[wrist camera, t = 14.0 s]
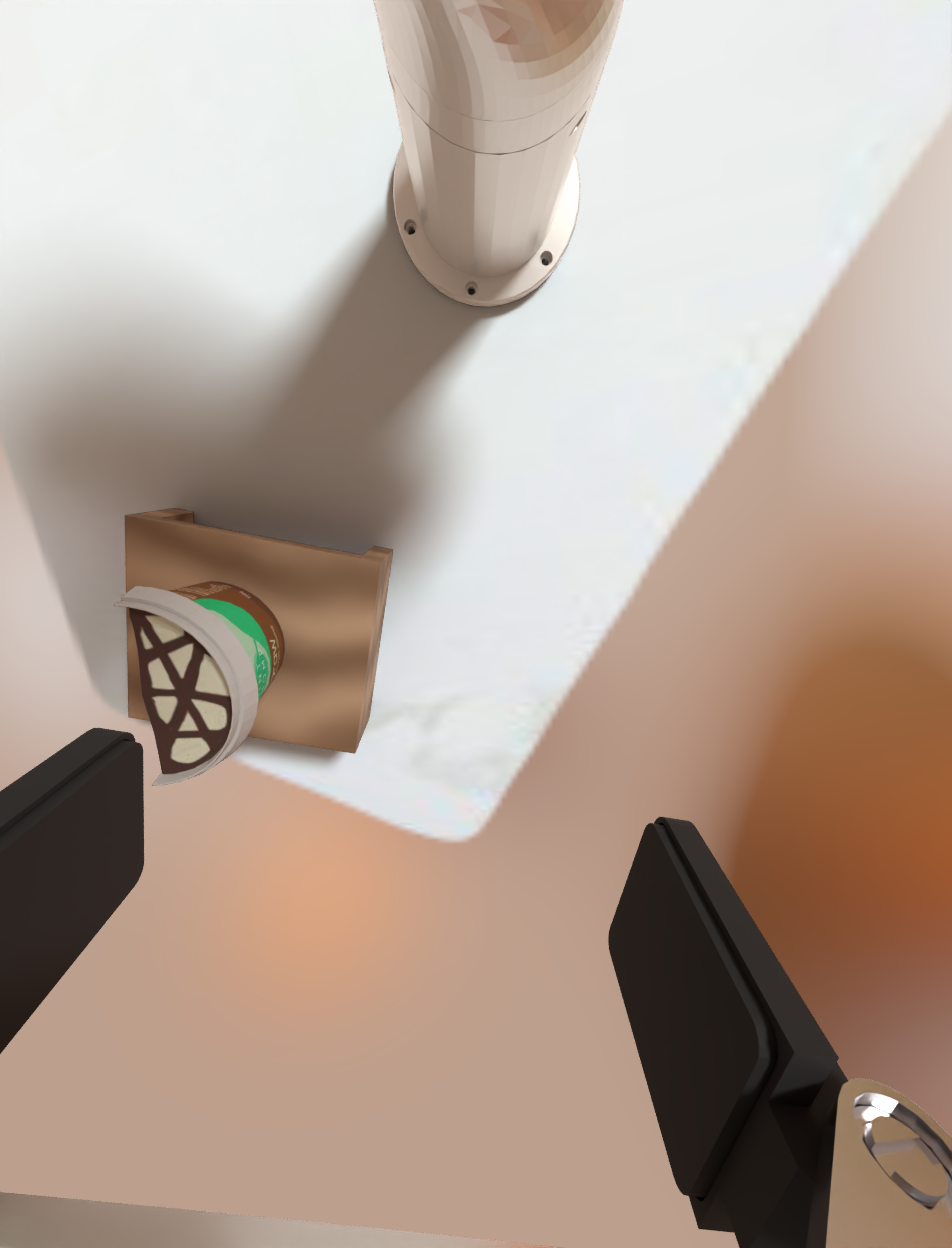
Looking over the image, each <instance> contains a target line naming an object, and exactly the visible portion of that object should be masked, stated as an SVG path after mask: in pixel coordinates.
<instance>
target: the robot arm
mask: <svg viewBox="0 0 952 1248" xmlns="http://www.w3.org/2000/svg"><path fill="white" fill-rule="evenodd" d="M373 1H374V5H375V10H376V15H377V19H378V24H379V28H380V33H381V38H382V43H383V49H384V54H385V59H386V63H387V68H388V73H389V77H390V82H391V87H392V91H393V96H394V101H395V106H396V110H397V115H398V120H399V125H400V129H401V134H402V139H403V141H402V144H401V146H400V149H399V151H398V155H397V160H396V165H395V170H394V181H393V200H394V208H395V217H396V221H397V224H398V228H399V232H400V235H401V238H402V240H403V243H404V245H405V248H406V251H407V253H408V254H409V256H410V258H411V259H412V261H413V263H414V265H415V266H416V268H417V269H418V270H419V271H420V273H421V274H422V275H423V276H424V277H425V279H426V280H427V281H428V282H429V283H430V284H432V285H433V286H434V287H435V288H436V289H438V290H439V291H440V292H441V293H443V294H445V295H447V296H449V297H451V298H452V299H454V300H456V301H459V302H462V303H466V304H470V305H473V306H489V307H490V306H496V305H503V304H507V303H510V302H512V301H515V300H518V299H520V298H522V297H524V296H526V295H527V294H529V293H530V292H532V291H533V290H535V289H536V288H537V287H538V286H540V285H541V284H542V283H543V282H544V281H545V280H546V279H547V278H548V277H549V276H550V275H551V273H552V272H553V270H554V269H555V268H556V266H557V265H558V263H559V262H560V261H561V259H562V257H563V255H564V253H565V251H566V249H567V247H568V244H569V242H570V239H571V237H572V234H573V231H574V228H575V225H576V220H577V215H578V210H579V201H580V178H579V169H578V162H577V159H576V155H575V153H576V150H577V147H578V144H579V141H580V138H581V135H582V132H583V129H584V126H585V123H586V120H587V117H588V114H589V111H590V108H591V105H592V102H593V99H594V96H595V93H596V90H597V87H598V84H599V81H600V78H601V75H602V72H603V69H604V66H605V63H606V60H607V58H608V55H609V52H610V49H611V45H612V42H613V39H614V36H615V33H616V30H617V26H618V22H619V18H620V14H621V10H622V5H623V0H373ZM410 229H414V230H415V233H414V234H412V235H409V234H408V232H409V230H410ZM543 259H546V260H547V261H548V265H547V266H545V265H543V264H542V260H543ZM469 289H474V290H475V294H473V295H470V294H469V293H468V290H469ZM143 803H144V802H143V748H142V746H141V744H140V743H137V742H135V738H134V736H133V735H132V734H131V733H128V732H121V731H115V730H109V729H103V728H93V729H91V730H89V731H87V732H86V733H84V734H83V735H81V736H80V737H78V738H77V739H76V740H74V741H73V742H71V743H70V744H68V745H67V746H65V747H64V748H62V749H61V750H60V751H58V752H57V753H55V754H54V755H52V756H51V757H49V758H48V759H47V760H45V761H44V762H42V763H41V764H39V765H38V766H36V767H35V768H34V769H32V770H31V771H29V772H28V773H26V774H25V775H23V776H22V777H20V778H19V779H18V780H16V781H15V782H13V783H12V784H10V785H9V786H8V787H6V788H5V789H3V790H2V791H0V1054H1V1052H2V1051H3V1050H4V1049H5V1047H6V1046H7V1045H8V1044H9V1042H10V1041H11V1040H12V1039H13V1037H14V1036H15V1035H16V1034H17V1032H18V1031H19V1030H20V1029H21V1027H22V1026H23V1024H25V1022H26V1021H27V1020H28V1019H29V1017H30V1016H31V1015H32V1014H33V1012H34V1011H35V1010H36V1009H37V1007H38V1006H39V1005H40V1004H41V1002H42V1001H43V1000H44V999H45V997H46V996H47V995H48V994H49V992H50V991H51V990H52V989H53V987H54V986H55V985H56V984H57V982H58V981H59V980H60V979H61V977H62V976H63V975H64V974H65V972H66V971H67V970H68V969H69V967H70V966H71V965H72V964H73V962H74V961H75V960H76V959H77V957H78V956H79V955H80V954H81V952H82V951H83V950H84V949H85V947H86V946H87V945H88V944H89V942H90V941H91V940H92V939H93V937H94V936H95V935H96V934H97V933H98V931H99V930H100V929H101V928H102V926H103V925H104V924H105V923H106V921H107V920H108V919H109V918H110V916H111V915H112V914H113V913H114V911H115V910H116V909H117V908H118V906H119V905H120V904H121V903H122V901H123V900H124V899H125V898H126V896H127V895H128V894H129V893H130V891H131V890H132V889H133V888H134V886H135V885H136V883H137V882H138V880H139V877H140V875H141V873H142V870H143V866H144V809H143V808H144V807H143V806H144V804H143ZM609 950H610V955H611V958H612V962H613V965H614V969H615V972H616V976H617V979H618V983H619V986H620V990H621V993H622V997H623V1000H624V1004H625V1007H626V1011H627V1014H628V1018H629V1021H630V1025H631V1028H632V1032H633V1035H634V1039H635V1042H636V1046H637V1050H638V1053H639V1057H640V1060H641V1064H642V1067H643V1071H644V1074H645V1078H646V1081H647V1085H648V1088H649V1092H650V1095H651V1099H652V1102H653V1106H654V1109H655V1113H656V1116H657V1120H658V1123H659V1127H660V1130H661V1134H662V1137H663V1141H664V1144H665V1147H666V1151H667V1155H668V1158H669V1162H670V1165H671V1168H672V1172H673V1176H674V1178H675V1182H676V1184H677V1186H678V1188H679V1190H680V1191H681V1192H682V1194H683V1195H688V1196H689V1198H690V1202H691V1205H692V1208H693V1212H694V1215H695V1218H696V1221H697V1225H698V1228H699V1229H706V1230H715V1231H726V1232H734V1233H735V1235H736V1239H737V1241H738V1244H739V1247H740V1248H952V1137H951V1136H950V1135H948V1133H947V1132H946V1131H945V1130H944V1129H943V1128H942V1127H941V1126H940V1125H939V1124H938V1123H937V1122H936V1121H935V1120H934V1119H933V1118H932V1117H931V1116H930V1115H929V1114H927V1113H926V1112H925V1111H923V1110H922V1109H921V1108H919V1107H918V1106H917V1105H916V1104H915V1103H913V1102H912V1101H911V1100H910V1099H908V1098H907V1097H905V1096H903V1095H902V1094H900V1093H898V1092H897V1091H895V1090H893V1089H892V1088H890V1087H888V1086H886V1085H884V1084H881V1083H877V1082H875V1081H872V1080H869V1079H852V1080H850V1081H848V1080H847V1078H846V1077H845V1075H844V1073H843V1072H842V1070H841V1068H840V1067H839V1065H838V1063H837V1060H838V1059H839V1058H838V1056H837V1054H836V1053H835V1051H834V1050H833V1048H832V1046H831V1045H830V1043H829V1042H828V1040H827V1038H826V1037H825V1035H824V1033H823V1032H822V1030H821V1029H820V1027H819V1026H818V1024H817V1022H816V1021H815V1019H814V1017H813V1016H812V1014H811V1012H810V1011H809V1009H808V1008H807V1006H806V1005H805V1003H804V1001H803V1000H802V998H801V996H800V995H799V993H798V992H797V990H796V988H795V987H794V985H793V983H792V982H791V981H790V979H789V977H788V975H787V974H786V972H785V971H784V969H783V967H782V966H781V964H780V963H779V961H778V959H777V958H776V956H775V955H774V953H773V951H772V950H771V948H770V946H769V945H768V943H767V942H766V940H765V938H764V937H763V935H762V934H761V932H760V930H759V929H758V927H757V925H756V924H755V922H754V921H753V919H752V917H751V916H750V914H749V913H748V911H747V910H746V908H745V906H744V904H743V903H742V901H741V900H740V898H739V896H738V895H737V893H736V892H735V890H734V888H733V887H732V885H731V884H730V882H729V880H728V879H727V877H726V875H725V874H724V872H723V871H722V869H721V868H720V866H719V864H718V863H717V861H716V859H715V858H714V856H713V855H712V853H711V851H710V850H709V848H708V846H707V845H706V843H705V842H704V840H703V838H702V837H701V835H700V834H699V832H698V830H697V829H696V827H695V826H694V825H693V824H692V823H691V822H689V821H685V820H678V819H672V818H665V817H659V818H657V819H656V821H655V823H654V824H653V823H650V824H648V825H647V826H646V828H645V830H644V833H643V836H642V838H641V841H640V844H639V847H638V850H637V853H636V855H635V858H634V861H633V864H632V867H631V870H630V873H629V875H628V879H627V881H626V884H625V887H624V890H623V893H622V895H621V898H620V901H619V904H618V907H617V910H616V913H615V915H614V918H613V921H612V924H611V927H610V930H609ZM0 1248H561V1247H551V1246H542V1245H532V1244H523V1243H514V1242H503V1241H495V1240H484V1239H475V1238H466V1237H456V1236H446V1235H438V1234H428V1233H417V1232H408V1231H398V1230H387V1229H378V1228H368V1227H358V1226H347V1225H338V1224H328V1223H318V1222H308V1221H298V1220H288V1219H278V1218H267V1217H257V1216H247V1215H237V1214H227V1213H216V1212H206V1211H196V1210H185V1209H175V1208H165V1207H155V1206H144V1205H133V1204H122V1203H111V1202H101V1201H89V1200H77V1199H68V1198H57V1197H46V1196H36V1195H25V1194H14V1193H3V1192H0Z"/></svg>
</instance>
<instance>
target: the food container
mask: <svg viewBox="0 0 952 1248" xmlns="http://www.w3.org/2000/svg"><path fill="white" fill-rule="evenodd" d="M121 599H122V601H120V602H118V603H116V604H114V606H120V607H128V608H129V617H130V620H131V622H132V625H133V629H134V634H135V639H136V644H137V650H138V658H139V669H140V680H141V688H142V696H143V700H144V703H145V707H146V710H147V713H148V716H149V719H150V721H151V724H152V727H153V731H154V734H155V739H156V744H157V748H158V754H159V758H160V763H161V769H162V773H161V774H160V775H159V777H158V778H157V779H156V780H155V782H154V783H153V784H152V786H154V785H167V784H171V783H176V782H180V781H183V780H186V779H189V778H192V777H194V776H197V775H199V774H202V773H203V772H205V771H207V770H209V769H210V768H212V767H214V766H215V765H217V764H218V763H219V762H221V761H223V760H224V759H226V758H227V757H228V756H229V755H231V754H232V753H233V752H234V751H235V750H237V749H238V747H239V746H240V745H241V744H242V743H243V741H244V740H245V739H246V737H247V736H248V734H249V732H250V730H251V728H252V726H253V723H254V720H255V717H256V714H257V707H258V701H259V700H260V698H261V697H262V695H263V694H264V692H265V691H266V689H267V688H268V686H269V685H270V683H271V682H272V681H273V679H274V677H275V676H276V674H277V672H278V671H279V669H280V667H281V666H282V663H283V658H284V653H285V641H284V636H283V632H282V629H281V627H280V624H279V622H278V620H277V619H276V617H275V615H274V614H273V613H272V611H271V610H270V609H269V607H268V606H267V605H266V604H265V603H264V602H262V601H261V600H260V599H259V598H258V597H256V596H255V595H253V594H252V593H250V592H248V591H247V590H245V589H243V588H240V587H238V586H235V585H233V584H228V583H224V582H216V581H208V582H203V583H199V584H194V585H190V586H186V587H181V588H177V589H172V590H168V591H166V590H161V589H157V588H153V587H142V586H136V587H134V588H133V589H131V590H130V591H128V592H127V593H126V594H124V595H123V596H121Z"/></svg>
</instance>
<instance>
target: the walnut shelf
mask: <svg viewBox="0 0 952 1248" xmlns="http://www.w3.org/2000/svg"><path fill="white" fill-rule="evenodd" d="M193 513H194V512H190V511H185V510H180V509H174V508H172V509H165V510H158V511H151V512H144V513H137V514H130V515H125V550H126V593H127V592H128V591H130V590H131V589H133V588H134V587H136V586H142V587H153V588H157V589H161V590H166V591H168V590H172V589H177V588H181V587H186V586H190V585H194V584H199V583H203V582H208V581H216V582H224V583H228V584H233V585H235V586H238V587H240V588H243V589H245V590H247V591H248V592H250V593H252V594H253V595H255V596H256V597H258V598H259V599H260V600H261V601H262V602H264V603H265V604H266V605H267V606H268V607H269V609H270V610H271V611H272V613H273V614H274V615H275V617H276V619H277V620H278V622H279V624H280V627H281V629H282V632H283V636H284V641H285V653H284V658H283V663H282V666H281V667H280V669H279V671H278V672H277V674H276V676H275V677H274V679H273V681H272V682H271V683H270V685H269V686H268V688H267V689H266V691H265V692H264V694H263V695H262V697H261V698H260V700H259V701H258V707H257V714H256V717H255V720H254V723H253V726H252V728H251V730H250V732H249V734H248V736H249V737H255V738H261V739H267V740H274V741H280V742H286V743H292V744H299V745H305V746H311V747H317V748H324V749H330V750H336V751H342V752H349V753H355V752H356V750H357V747H358V745H359V742H360V740H361V738H362V735H363V733H364V730H365V728H366V725H367V723H368V720H369V717H370V710H371V703H372V696H373V689H374V682H375V675H376V668H377V660H378V653H379V646H380V639H381V632H382V625H383V618H384V611H385V604H386V597H387V590H388V583H389V576H390V569H391V562H392V555H393V549H388V548H383V547H377V546H373V547H372V548H371V549H370V550H369V551H367V552H366V553H365V554H364V555H360V554H355V553H349V552H344V551H339V550H333V549H328V548H322V547H317V546H312V545H306V544H301V543H295V542H290V541H285V540H279V539H274V538H269V537H263V536H258V535H252V534H247V533H242V532H236V531H231V530H225V529H220V528H215V527H209V526H204V525H199V524H193ZM127 661H128V716H129V717H130V718H136V719H142V720H149V721H150V719H149V716H148V713H147V710H146V707H145V703H144V700H143V696H142V688H141V680H140V669H139V658H138V650H137V644H136V639H135V634H134V629H133V625H132V622H131V620H130V617H129V608H128V607H127Z"/></svg>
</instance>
